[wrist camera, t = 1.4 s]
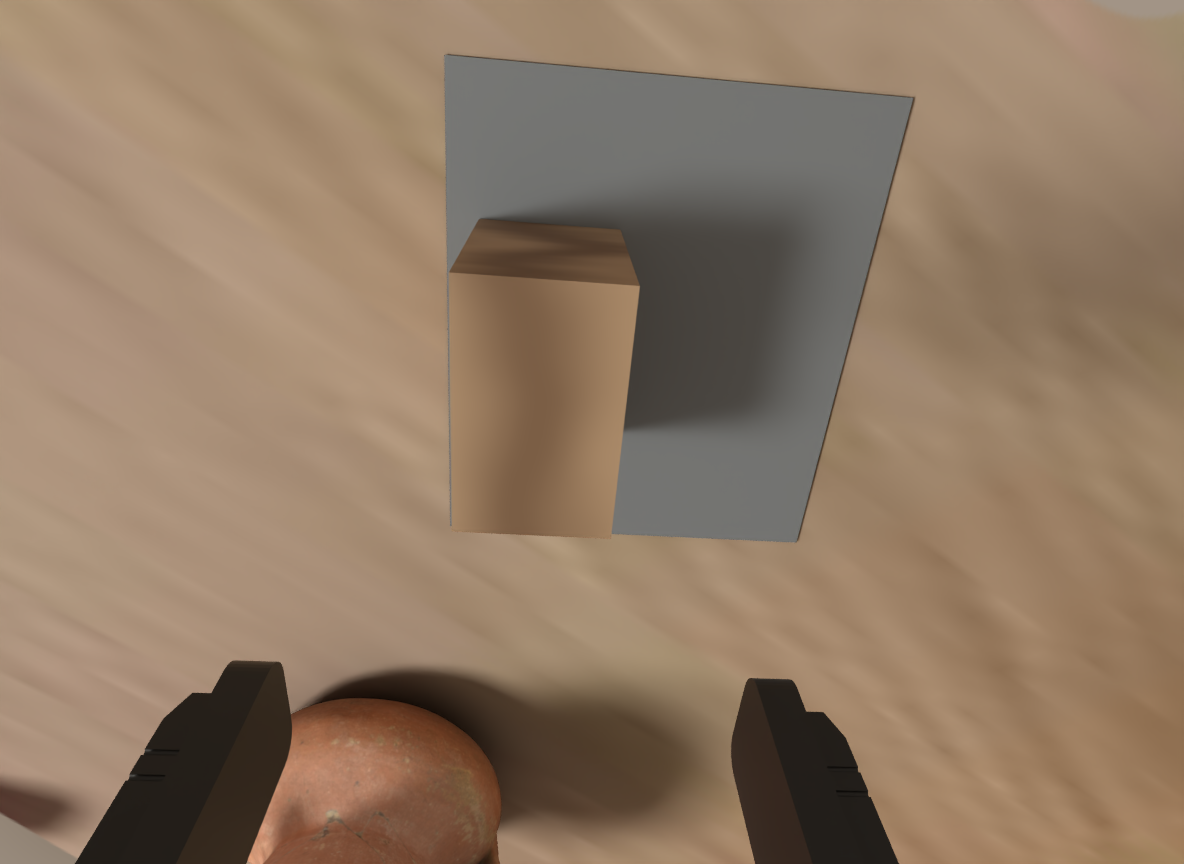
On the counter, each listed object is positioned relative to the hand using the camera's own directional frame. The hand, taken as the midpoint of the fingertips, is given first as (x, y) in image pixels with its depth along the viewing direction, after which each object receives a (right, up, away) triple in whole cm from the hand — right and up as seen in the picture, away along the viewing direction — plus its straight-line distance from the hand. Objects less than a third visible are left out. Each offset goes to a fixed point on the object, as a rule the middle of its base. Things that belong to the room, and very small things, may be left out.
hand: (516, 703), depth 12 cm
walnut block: (-1, +9, +17) cm, 19 cm away
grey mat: (+4, +9, +18) cm, 20 cm away
